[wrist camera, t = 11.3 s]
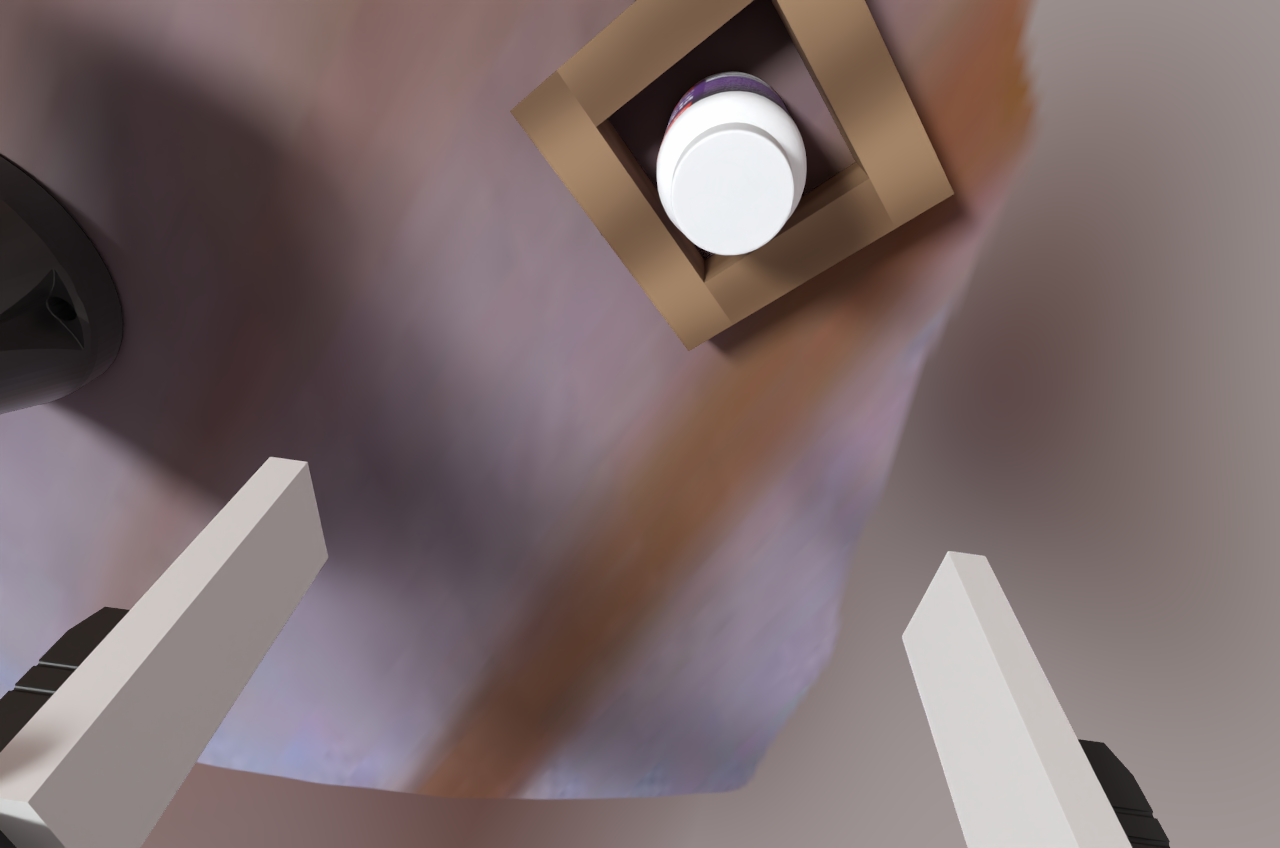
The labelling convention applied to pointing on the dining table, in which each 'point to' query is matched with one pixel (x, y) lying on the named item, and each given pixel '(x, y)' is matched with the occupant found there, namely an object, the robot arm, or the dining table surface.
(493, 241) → the dining table surface
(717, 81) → the pill bottle
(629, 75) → the brown square frame
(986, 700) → the robot arm
